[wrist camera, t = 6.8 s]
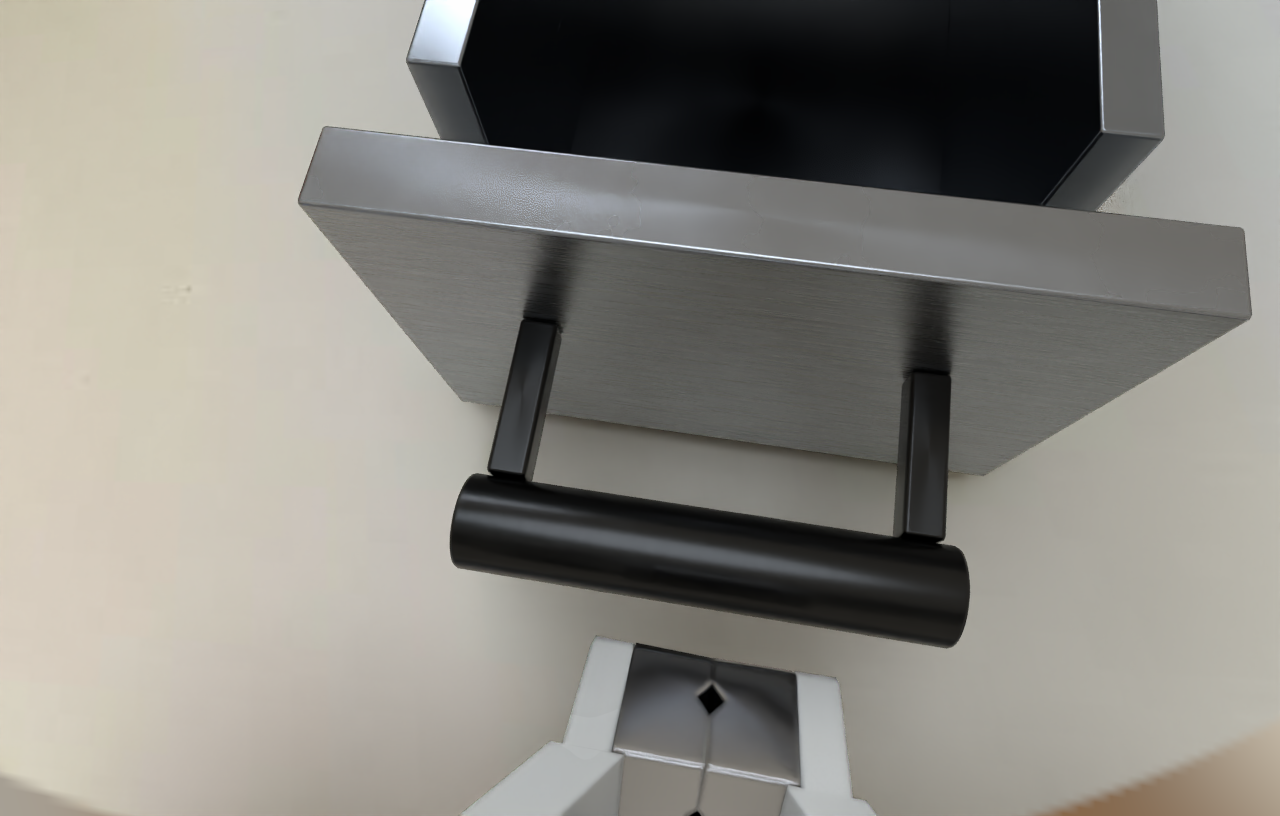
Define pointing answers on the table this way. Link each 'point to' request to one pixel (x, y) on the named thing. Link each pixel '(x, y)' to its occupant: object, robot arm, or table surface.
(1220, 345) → the table surface
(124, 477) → the table surface
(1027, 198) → the drawer
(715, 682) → the robot arm
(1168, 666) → the table surface
